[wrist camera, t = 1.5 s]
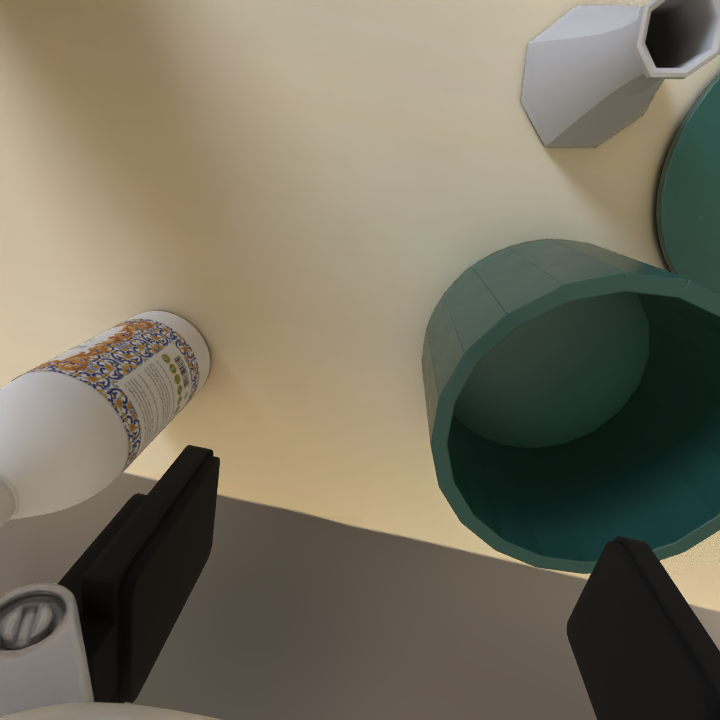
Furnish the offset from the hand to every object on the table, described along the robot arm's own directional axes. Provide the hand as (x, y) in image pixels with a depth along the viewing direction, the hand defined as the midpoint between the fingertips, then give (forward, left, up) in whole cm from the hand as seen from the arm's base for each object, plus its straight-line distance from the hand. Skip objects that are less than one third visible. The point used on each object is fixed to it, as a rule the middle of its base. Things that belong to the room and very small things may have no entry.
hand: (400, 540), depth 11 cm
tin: (+5, +8, -22) cm, 25 cm away
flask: (-11, +12, -23) cm, 28 cm away
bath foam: (0, -18, -23) cm, 29 cm away
